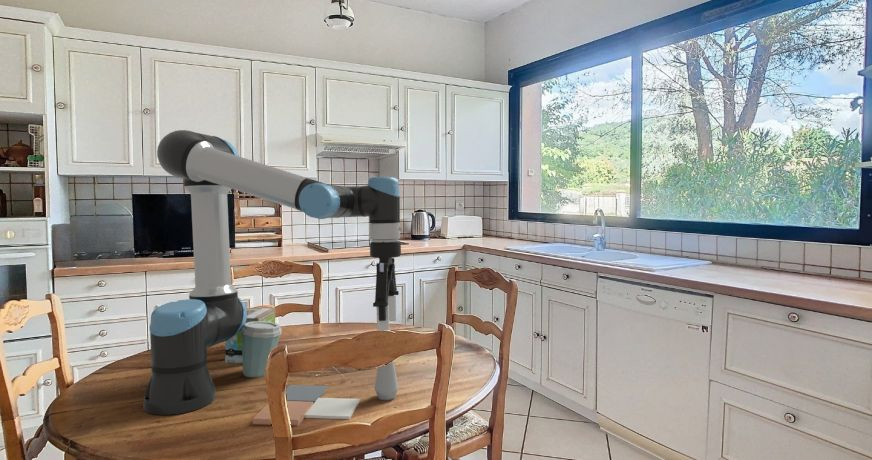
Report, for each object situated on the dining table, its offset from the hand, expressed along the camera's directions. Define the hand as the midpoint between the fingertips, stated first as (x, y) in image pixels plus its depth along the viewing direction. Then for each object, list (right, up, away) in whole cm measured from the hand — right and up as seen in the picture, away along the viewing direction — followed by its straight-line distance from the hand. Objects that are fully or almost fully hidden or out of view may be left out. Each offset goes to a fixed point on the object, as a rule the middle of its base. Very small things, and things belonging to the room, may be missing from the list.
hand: (387, 327), depth 122 cm
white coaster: (-12, -18, -8) cm, 23 cm away
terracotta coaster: (-22, -17, -11) cm, 30 cm away
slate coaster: (-21, -18, +1) cm, 27 cm away
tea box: (-44, -16, +30) cm, 56 cm away
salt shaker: (0, -17, 0) cm, 17 cm away
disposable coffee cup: (-37, -17, +15) cm, 43 cm away
